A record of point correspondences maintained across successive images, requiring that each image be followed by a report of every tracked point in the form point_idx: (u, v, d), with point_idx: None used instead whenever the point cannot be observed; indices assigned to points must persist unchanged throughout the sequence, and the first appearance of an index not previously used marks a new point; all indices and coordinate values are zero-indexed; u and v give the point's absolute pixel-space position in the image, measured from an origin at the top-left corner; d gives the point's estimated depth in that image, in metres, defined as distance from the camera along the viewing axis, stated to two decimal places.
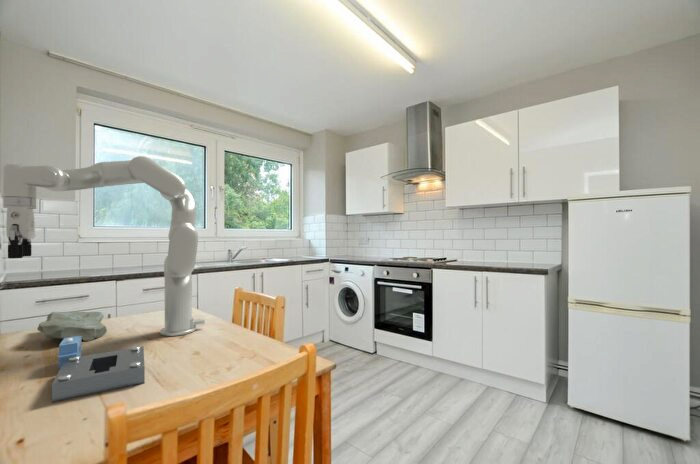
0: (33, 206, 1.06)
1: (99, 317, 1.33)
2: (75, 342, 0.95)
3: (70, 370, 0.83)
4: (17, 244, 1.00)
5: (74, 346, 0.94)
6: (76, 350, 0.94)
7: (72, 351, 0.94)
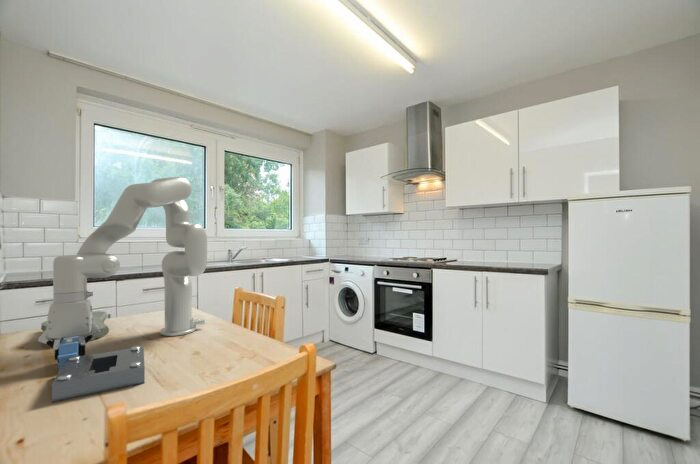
0: None
1: (103, 317, 1.33)
2: (75, 342, 0.95)
3: (70, 370, 0.83)
4: None
5: (74, 346, 0.94)
6: (76, 350, 0.94)
7: (72, 351, 0.94)
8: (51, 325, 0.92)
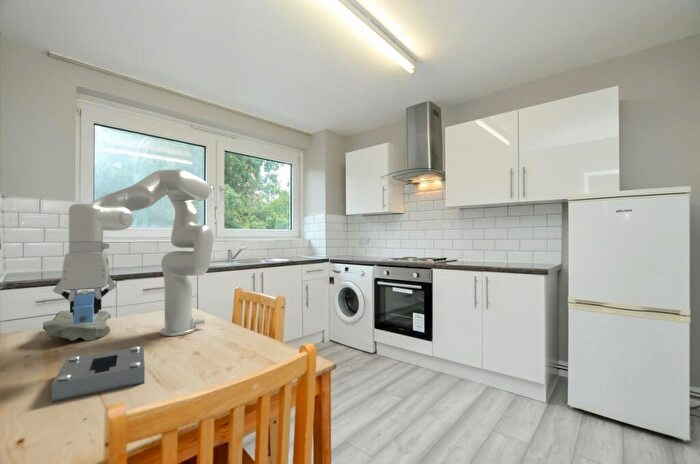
0: None
1: (104, 317, 1.34)
2: (90, 294, 0.90)
3: (70, 370, 0.83)
4: None
5: (89, 298, 0.89)
6: (91, 302, 0.89)
7: (87, 303, 0.89)
8: (67, 275, 0.88)
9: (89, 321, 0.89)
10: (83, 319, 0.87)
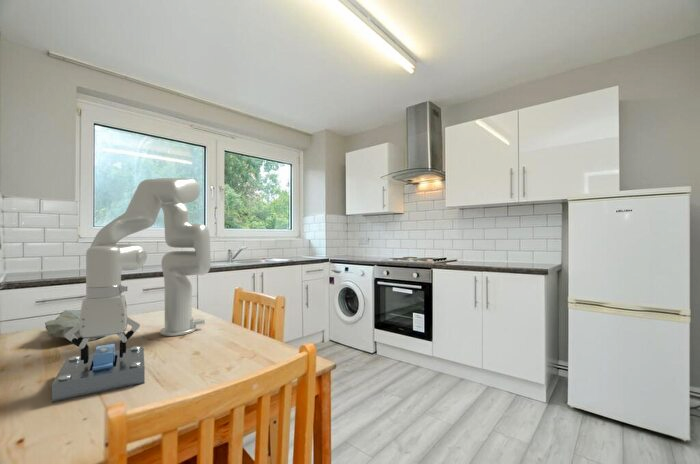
0: None
1: None
2: (110, 351, 0.86)
3: (70, 370, 0.83)
4: None
5: (109, 356, 0.85)
6: (111, 360, 0.86)
7: (107, 361, 0.85)
8: (85, 322, 0.84)
9: None
10: None
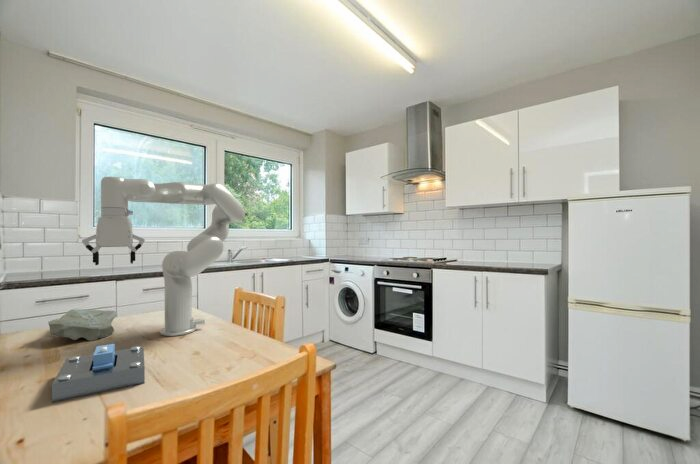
0: None
1: (111, 316, 1.34)
2: (110, 351, 0.86)
3: (70, 370, 0.83)
4: None
5: (109, 356, 0.85)
6: (111, 360, 0.86)
7: (107, 361, 0.85)
8: (100, 234, 1.08)
9: None
10: None
